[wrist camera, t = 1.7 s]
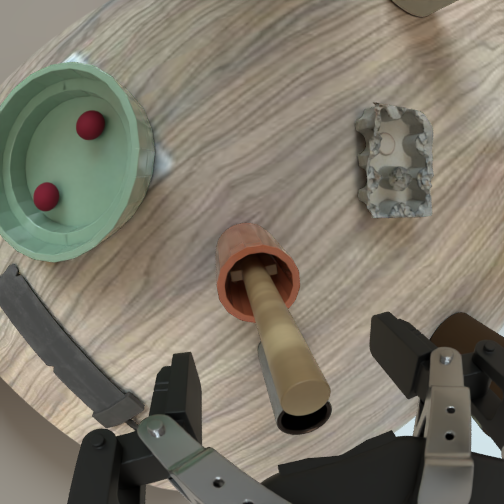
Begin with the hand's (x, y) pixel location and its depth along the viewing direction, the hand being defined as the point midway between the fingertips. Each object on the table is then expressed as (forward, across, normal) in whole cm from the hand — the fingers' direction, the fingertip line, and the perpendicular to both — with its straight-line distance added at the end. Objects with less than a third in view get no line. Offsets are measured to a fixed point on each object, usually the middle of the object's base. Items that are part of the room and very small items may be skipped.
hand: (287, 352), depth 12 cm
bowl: (+15, +14, -11) cm, 24 cm away
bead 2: (+14, +12, -14) cm, 22 cm away
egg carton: (+16, -15, -7) cm, 23 cm away
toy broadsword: (+16, +20, +12) cm, 28 cm away
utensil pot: (+15, 0, 0) cm, 16 cm away
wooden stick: (+15, 0, 0) cm, 15 cm away
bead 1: (+14, +17, -9) cm, 23 cm away
